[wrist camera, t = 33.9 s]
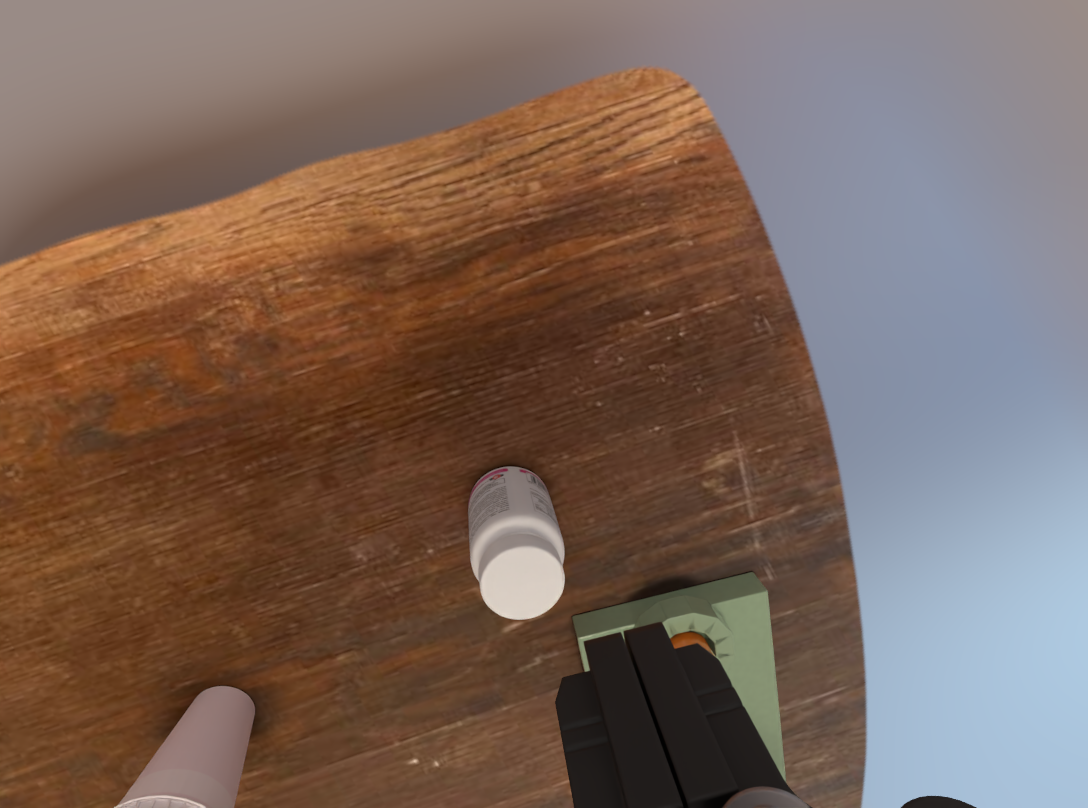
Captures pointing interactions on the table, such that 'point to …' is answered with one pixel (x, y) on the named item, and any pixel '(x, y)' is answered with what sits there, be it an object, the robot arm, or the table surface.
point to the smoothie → (199, 755)
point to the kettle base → (712, 639)
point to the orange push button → (690, 640)
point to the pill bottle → (515, 543)
